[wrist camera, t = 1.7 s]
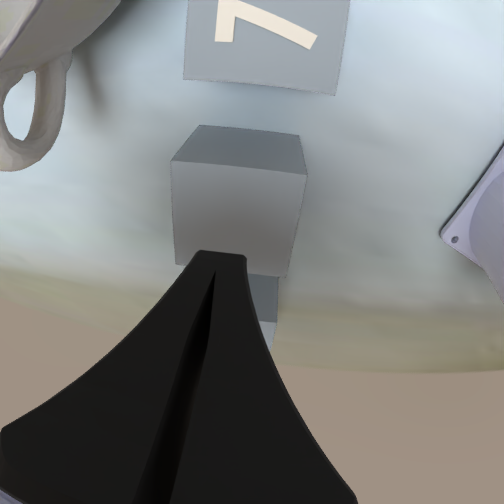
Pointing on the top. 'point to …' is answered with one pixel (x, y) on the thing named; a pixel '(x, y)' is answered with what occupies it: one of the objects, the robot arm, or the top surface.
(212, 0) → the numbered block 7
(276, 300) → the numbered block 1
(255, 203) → the plain block
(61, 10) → the teacup
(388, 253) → the top surface
